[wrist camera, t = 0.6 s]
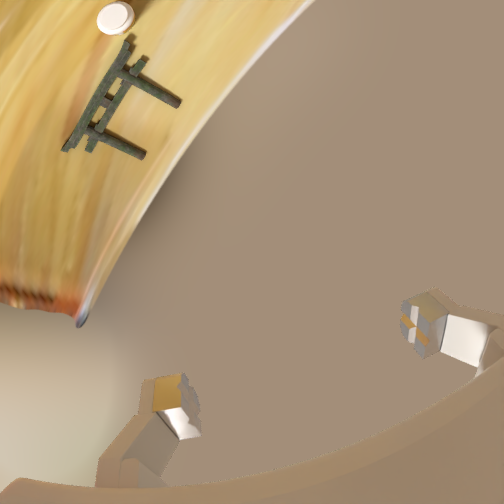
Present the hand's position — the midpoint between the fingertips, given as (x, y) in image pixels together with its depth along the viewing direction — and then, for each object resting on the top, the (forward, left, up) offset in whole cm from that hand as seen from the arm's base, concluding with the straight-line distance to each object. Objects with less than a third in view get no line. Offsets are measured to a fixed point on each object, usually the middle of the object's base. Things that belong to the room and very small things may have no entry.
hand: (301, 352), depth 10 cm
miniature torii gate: (-3, -8, -50) cm, 50 cm away
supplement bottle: (-15, +4, -49) cm, 52 cm away
